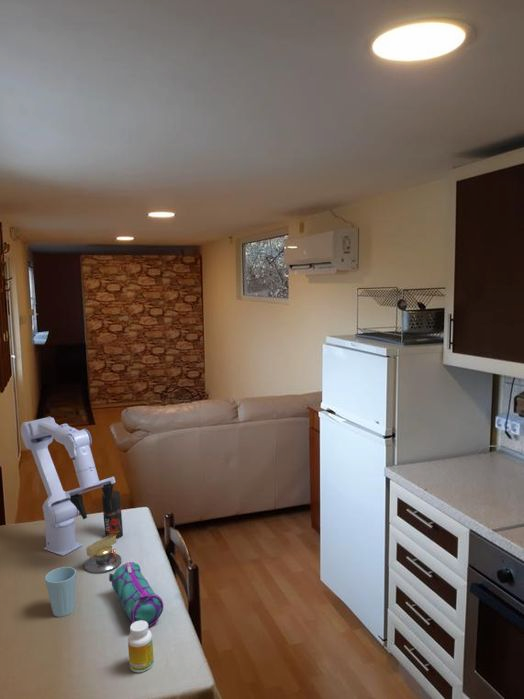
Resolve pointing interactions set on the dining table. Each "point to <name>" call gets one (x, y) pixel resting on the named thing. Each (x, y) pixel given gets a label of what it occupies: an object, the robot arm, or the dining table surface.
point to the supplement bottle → (140, 647)
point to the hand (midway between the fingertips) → (97, 514)
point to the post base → (103, 563)
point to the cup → (61, 590)
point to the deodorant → (113, 516)
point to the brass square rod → (101, 547)
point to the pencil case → (136, 594)
